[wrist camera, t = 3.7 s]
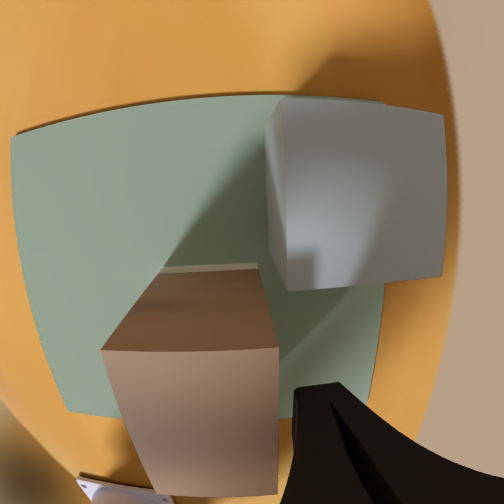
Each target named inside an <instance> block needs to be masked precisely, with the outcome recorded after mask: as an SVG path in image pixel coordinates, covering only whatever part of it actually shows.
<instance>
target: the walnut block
mask: <svg viewBox="0 0 504 504" xmlns="http://www.w3.org/2000/svg"><path fill="white" fill-rule="evenodd" d="M100 351H101V355H102V358H103V362H104V365H105V368H106V372H107V375H108V378H109V381H110V384H111V387H112V390H113V393H114V396H115V399H116V402H117V404H118V407H119V410H120V413H121V415H122V418H123V421H124V423H125V426H126V428H127V431H128V433H129V436H130V438H131V440H132V443H133V445H134V447H135V450H136V452H137V454H138V456H139V459H140V461H141V463H142V465H143V467H144V469H145V472H146V474H147V476H148V478H149V480H150V482H151V484H152V486H153V488H154V490H155V492H156V493H157V494H162V495H174V496H190V497H247V496H263V495H275V494H277V492H278V445H279V346H278V342H277V338H276V334H275V330H274V326H273V323H272V319H271V315H270V311H269V307H268V303H267V299H266V295H265V292H264V288H263V284H262V280H261V276H260V272H259V268H258V265H257V262H250V263H231V264H212V265H193V266H173V267H163V268H162V269H161V270H160V272H159V273H158V274H157V276H156V277H155V278H154V279H153V281H152V282H151V283H150V284H149V286H148V287H147V288H146V289H145V291H144V292H143V293H142V295H141V296H140V297H139V299H138V300H137V301H136V302H135V304H134V305H133V306H132V308H131V309H130V310H129V312H128V313H127V314H126V316H125V317H124V318H123V320H122V321H121V322H120V324H119V325H118V326H117V328H116V329H115V330H114V332H113V333H112V334H111V336H110V337H109V338H108V340H107V341H106V343H105V344H104V345H103V347H102V348H101V349H100Z"/></svg>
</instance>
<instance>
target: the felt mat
mask: <svg viewBox="0 0 504 504" xmlns="http://www.w3.org/2000/svg"><path fill="white" fill-rule="evenodd" d="M281 98H310V99H330V100H344V101H356V102H366V103H375V104H383V105H384V102H381V101H373V100H364V99H354V98H342V97H328V96H308V95H241V96H221V97H207V98H195V99H185V100H175V101H167V102H159V103H152V104H145V105H139V106H133V107H127V108H121V109H116V110H111V111H106V112H101V113H96V114H92V115H87V116H83V117H79V118H75V119H71V120H67V121H63V122H59V123H55V124H52V125H48V126H45V127H41V128H38V129H35V130H31V131H28V132H25V133H22V134H19V135H16V136H13V137H11V184H12V199H13V210H14V220H15V228H16V236H17V243H18V249H19V255H20V261H21V266H22V271H23V276H24V281H25V285H26V290H27V294H28V298H29V302H30V306H31V310H32V314H33V317H34V321H35V324H36V328H37V331H38V334H39V338H40V341H41V344H42V347H43V350H44V353H45V356H46V359H47V361H48V364H49V367H50V370H51V372H52V375H53V377H54V380H55V382H56V385H57V387H58V390H59V392H60V395H61V397H62V399H63V401H64V404H65V406H66V408H67V410H68V411H70V412H76V413H82V414H89V415H96V416H103V417H111V418H120V419H123V418H122V415H121V413H120V410H119V407H118V404H117V402H116V399H115V396H114V393H113V390H112V387H111V384H110V381H109V378H108V375H107V372H106V368H105V365H104V362H103V358H102V355H101V351H100V349H101V348H102V347H103V345H104V344H105V343H106V341H107V340H108V338H109V337H110V336H111V334H112V333H113V332H114V330H115V329H116V328H117V326H118V325H119V324H120V322H121V321H122V320H123V318H124V317H125V316H126V314H127V313H128V312H129V310H130V309H131V308H132V306H133V305H134V304H135V302H136V301H137V300H138V299H139V297H140V296H141V295H142V293H143V292H144V291H145V289H146V288H147V287H148V286H149V284H150V283H151V282H152V281H153V279H154V278H155V277H156V276H157V274H158V273H159V272H160V270H161V269H162V268H163V267H173V266H193V265H212V264H231V263H250V262H257V265H258V268H259V272H260V276H261V280H262V284H263V288H264V292H265V295H266V299H267V303H268V307H269V311H270V315H271V319H272V323H273V326H274V330H275V334H276V338H277V342H278V346H279V419H285V418H292V417H293V395H294V390H295V389H296V388H297V387H302V386H311V385H319V384H326V383H333V382H340V383H341V384H342V385H343V386H345V387H346V388H347V389H348V390H349V391H350V392H351V393H352V394H354V395H355V396H356V397H357V398H358V399H359V400H360V401H361V402H363V403H364V404H365V405H367V400H368V396H369V391H370V386H371V380H372V375H373V370H374V364H375V358H376V352H377V345H378V338H379V331H380V324H381V315H382V307H383V297H384V287H385V283H379V284H369V285H358V286H347V287H336V288H324V289H311V290H298V291H287V289H286V287H285V285H284V282H283V280H282V278H281V276H280V274H279V272H278V269H277V267H276V265H275V263H274V261H273V259H272V257H271V254H270V252H269V250H268V224H267V197H266V173H265V150H264V127H265V126H266V124H267V122H268V120H269V118H270V117H271V115H272V113H273V111H274V109H275V108H276V106H277V104H278V102H279V101H280V99H281Z"/></svg>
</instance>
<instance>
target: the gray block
mask: <svg viewBox="0 0 504 504" xmlns="http://www.w3.org/2000/svg"><path fill="white" fill-rule="evenodd" d="M264 150H265V173H266V197H267V224H268V250H269V252H270V254H271V257H272V259H273V261H274V263H275V265H276V267H277V269H278V272H279V274H280V276H281V278H282V280H283V282H284V285H285V287H286V289H287V291H298V290H311V289H324V288H336V287H347V286H358V285H369V284H379V283H389V282H398V281H407V280H416V279H425V278H433V277H442V270H443V260H444V250H445V237H446V220H447V154H446V137H445V125H444V115H443V114H438V113H433V112H428V111H423V110H417V109H411V108H404V107H398V106H391V105H383V104H375V103H366V102H356V101H344V100H330V99H310V98H281V99H280V101H279V102H278V104H277V106H276V108H275V109H274V111H273V113H272V115H271V117H270V118H269V120H268V122H267V124H266V126H265V127H264Z"/></svg>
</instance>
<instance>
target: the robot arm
mask: <svg viewBox="0 0 504 504" xmlns="http://www.w3.org/2000/svg"><path fill="white" fill-rule="evenodd" d="M292 438H293V450H294V455H293V460H292V465H291V469H290V473H289V477H288V480H287V484H286V487H285V490H284V494H283V497H282V500H281V502H280V504H504V478H501V477H497V476H492V475H489V474H485V473H482V472H478V471H475V470H473V469H470V468H467V467H465V466H462V465H459V464H457V463H454V462H452V461H450V460H448V459H445V458H443V457H441V456H439V455H437V454H435V453H434V452H432V451H430V450H428V449H426V448H424V447H422V446H420V445H419V444H417V443H416V442H414V441H413V440H411V439H410V438H408V437H407V436H405V435H403V434H402V433H401V432H399V431H398V430H396V429H395V428H394V427H392V426H391V425H390V424H388V423H387V422H386V421H384V420H383V419H382V418H381V417H379V416H378V415H377V414H376V413H374V412H373V411H372V410H371V409H370V408H368V407H367V406H366V405H365V404H364V403H363V402H361V401H360V400H359V399H358V398H357V397H356V396H355V395H354V394H352V393H351V392H350V391H349V390H348V389H347V388H346V387H345V386H343V385H342V384H341V383H340V382H333V383H326V384H319V385H311V386H302V387H297V388H296V389H295V390H294V395H293V417H292ZM76 481H77V482H78V484H79V485H80V487H81V488H82V489H83V491H84V492H85V493H86V495H87V496H88V497H89V498H90V500H91V503H90V504H175V503H174V501H173V499H172V497H171V495H162V494H157V493H156V492H155V490H154V489H146V488H138V487H131V486H125V485H119V484H113V483H108V482H103V481H98V480H93V479H89V478H84V477H77V479H76Z"/></svg>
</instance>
